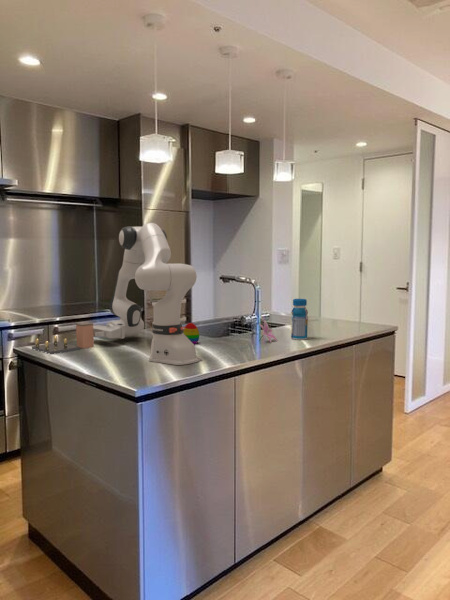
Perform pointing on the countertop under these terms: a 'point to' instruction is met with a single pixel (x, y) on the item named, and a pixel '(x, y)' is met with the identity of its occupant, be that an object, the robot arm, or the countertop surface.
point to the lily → (267, 331)
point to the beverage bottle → (299, 319)
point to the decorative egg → (191, 332)
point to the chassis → (55, 346)
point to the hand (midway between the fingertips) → (89, 333)
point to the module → (85, 335)
